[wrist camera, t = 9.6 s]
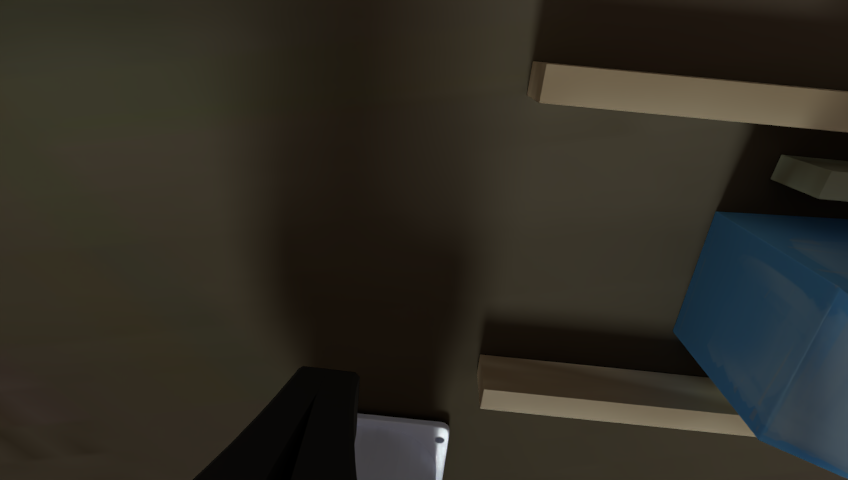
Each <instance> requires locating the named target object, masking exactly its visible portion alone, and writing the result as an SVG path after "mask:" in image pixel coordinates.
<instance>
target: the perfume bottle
mask: <svg viewBox="0 0 848 480" xmlns="http://www.w3.org/2000/svg"><path fill="white" fill-rule="evenodd" d="M673 332H674V334H675V335H676V336H677V337H678V339H679V340H680V341H681V342H682V344H683V345H684V346H685V347H686V349H687V350H688V351H689V352H690V354H691V355H692V356H693V358H694V359H695V360H696V361H697V363H698V364H699V365H700V366H701V368H702V369H703V370H704V371H705V373H706V374H707V375H708V376H709V378H710V379H711V380H712V382H713V383H714V384H715V385H716V387H717V388H718V389H719V390H720V392H721V393H722V394H723V395H724V397H725V398H726V399H727V400H728V402H729V403H730V404H731V406H732V407H733V408H734V409H735V411H736V412H737V413H738V414H739V416H740V417H741V418H742V419H743V421H744V422H745V423H746V424H747V426H748V427H749V428H750V430H751V431H752V432H753V433H754V435H755V436H756V437H757V438H758V440H760V441H762V442H765V443H767V444H769V445H772V446H774V447H776V448H778V449H781V450H783V451H785V452H788V453H790V454H792V455H794V456H797V457H799V458H801V459H803V460H806V461H808V462H810V463H813V464H815V465H817V466H819V467H822V468H824V469H826V470H829V471H831V472H833V473H835V474H838V475H840V476H842V477H845V478H847V479H848V219H837V218H820V217H803V216H786V215H768V214H751V213H734V212H717V211H716V212H715V215H714V218H713V221H712V223H711V226H710V229H709V232H708V235H707V237H706V240H705V243H704V246H703V248H702V251H701V254H700V257H699V260H698V262H697V265H696V268H695V271H694V274H693V276H692V279H691V282H690V285H689V287H688V290H687V293H686V296H685V299H684V301H683V304H682V307H681V310H680V313H679V315H678V318H677V321H676V324H675V326H674V329H673Z"/></svg>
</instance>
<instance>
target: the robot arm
mask: <svg viewBox="0 0 848 480" xmlns="http://www.w3.org/2000/svg"><path fill="white" fill-rule="evenodd" d="M359 381H360V377H359V376H358V375H357V374H356V373H355V372H347V371H339V370H331V369H322V368H314V367H306V366H302V367H301V368H299V369H298V370H297V371H296V373H295V374H294V375H293V376H292V377H291V379H290V380H289V381H288V382H287V383H286V384H285V386H284V387H283V388H282V389H281V390H280V391H279V393H278V394H277V395H276V396H275V397H274V398H273V399H272V400H271V402H270V403H269V404H268V405H267V406H266V407H265V408H264V409H263V410H262V411H261V413H260V414H259V415H258V416H257V417H256V418H255V419H254V420H253V421H252V422H251V423H250V424H249V425H248V426H247V427H246V428H245V429H244V430H243V431H242V432H241V433H240V435H239V436H238V437H237V438H236V439H235V440H234V441H233V442H232V443H231V444H230V445H229V446H228V447H227V448H226V449H225V450H223V451H222V452H221V453H220V454H219V455H218V456H217V457H216V458H215V459H214V460H213V461H212V462H211V463H210V464H209V465H208V466H207V467H206V468H205V469H204V470H202V471H201V472H200V473H199V474H198V475H197V476H196V477H195V478H194V479H193V480H442V478H443V472H444V465H445V459H446V452H447V446H448V440H449V426H448V425H447V424H446V423H444V422H437V421H427V420H418V419H408V418H398V417H388V416H379V415H369V414H359V413H358V398H359Z"/></svg>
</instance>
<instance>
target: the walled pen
mask: <svg viewBox="0 0 848 480" xmlns="http://www.w3.org/2000/svg"><path fill="white" fill-rule="evenodd" d="M527 96H529V97H531V98H532V99H534V100H535V101H537V102H539V103H546V104H557V105H567V106H578V107H588V108H598V109H609V110H619V111H630V112H640V113H651V114H661V115H672V116H682V117H692V118H703V119H713V120H724V121H734V122H745V123H755V124H766V125H776V126H787V127H797V128H807V129H818V130H828V131H839V132H848V91H841V90H831V89H820V88H810V87H799V86H789V85H778V84H768V83H757V82H747V81H736V80H725V79H715V78H704V77H694V76H683V75H673V74H662V73H652V72H641V71H631V70H620V69H609V68H599V67H588V66H578V65H567V64H557V63H546V62H536V61H533V63H532V69H531V75H530V80H529V86H528V91H527ZM771 180H774V181H776V182H779V183H781V184H784V185H786V186H788V187H791V188H793V189H796V190H798V191H800V192H803V193H805V194H808V195H810V196H813V197H815V198H817V199H826V200H837V201H847V202H848V161H842V160H832V159H822V158H811V157H801V156H791V155H781V157H780V159H779V161H778V163H777V166H776V168H775V170H774V172H773V174H772V177H771ZM477 379H478V390H479V401H480V409H489V410H499V411H508V412H518V413H528V414H538V415H548V416H557V417H567V418H577V419H587V420H596V421H606V422H616V423H626V424H635V425H645V426H655V427H665V428H675V429H684V430H694V431H704V432H714V433H723V434H733V435H743V436H753V437H756V436H755V435H754V433H753V432H752V431H751V430H750V428H749V427H748V426H747V424H746V423H745V422H744V421H743V419H742V418H741V417H740V416H739V414H738V413H737V412H736V411H735V409H734V408H733V407H732V406H731V404H730V403H729V402H728V400H727V399H726V398H725V397H724V395H723V394H722V393H721V392H720V390H719V389H718V388H717V387H716V385H715V384H714V383H713V382H712V380H711V379H710V378H708V377H698V376H688V375H678V374H668V373H658V372H649V371H639V370H629V369H619V368H609V367H599V366H589V365H579V364H569V363H560V362H550V361H540V360H530V359H520V358H510V357H500V356H490V355H481V354H480V358H479V364H478V370H477Z"/></svg>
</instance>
